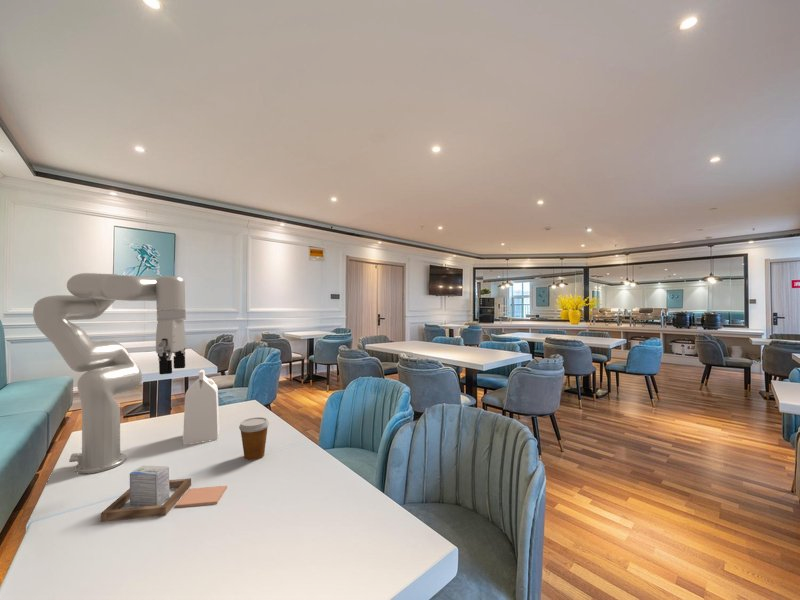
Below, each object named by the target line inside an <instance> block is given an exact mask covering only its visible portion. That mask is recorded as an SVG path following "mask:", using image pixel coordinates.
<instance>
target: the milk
mask: <svg viewBox="0 0 800 600" xmlns="http://www.w3.org/2000/svg"><path fill="white" fill-rule="evenodd" d="M183 410H184V411H183V413H184V414H183V415H184V416H183V433H182V445H183V444H188V445H191V444H190V443H194V444H197V443H196V442H201V443H203V442H202V441H207V442H210V441H209V440H214V441H216V440H215V439H218V440H219V435H218V434H219V433H220V415H219V414H220V413H219V411H220V410H219V389H218V384H216V382H215V381H214V380H213V379H212V378H208V377H207V376H206V372H205V369H199V372H198V378H197V379H196V380H195V381H194V382H193V383H192V384H191V385H190V386H189V387H188V389H187V390H186V392H185V395H184V409H183Z"/></svg>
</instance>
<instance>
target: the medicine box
mask: <svg viewBox="0 0 800 600" xmlns="http://www.w3.org/2000/svg"><path fill="white" fill-rule="evenodd" d="M169 480H170V466H163V465H141V466H140V467H138V468H136V469H134V470H132V471H131V472H129V488H130V500H129V506H136V507H146V506H157V505H163V504H164V503H165V502H166V501H167V500H168V499H169V498H170V497H171V494H170V489H169Z"/></svg>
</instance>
